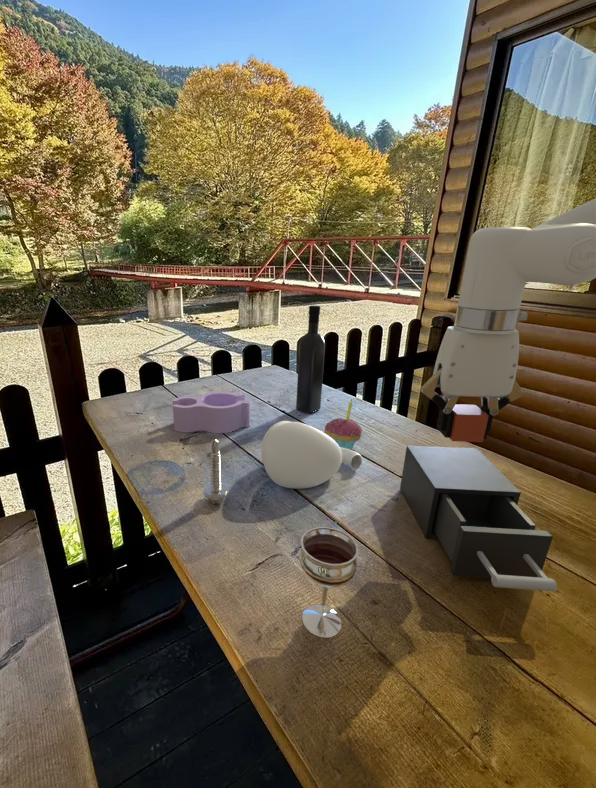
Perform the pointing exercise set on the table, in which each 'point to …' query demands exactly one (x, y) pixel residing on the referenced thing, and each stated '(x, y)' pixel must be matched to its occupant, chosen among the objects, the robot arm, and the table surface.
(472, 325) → the robot arm
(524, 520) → the drawer
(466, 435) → the block
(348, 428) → the cupcake
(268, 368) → the table surface
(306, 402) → the wine bottle
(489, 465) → the cabinet
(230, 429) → the clip
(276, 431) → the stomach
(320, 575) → the wineglass
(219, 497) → the screw
